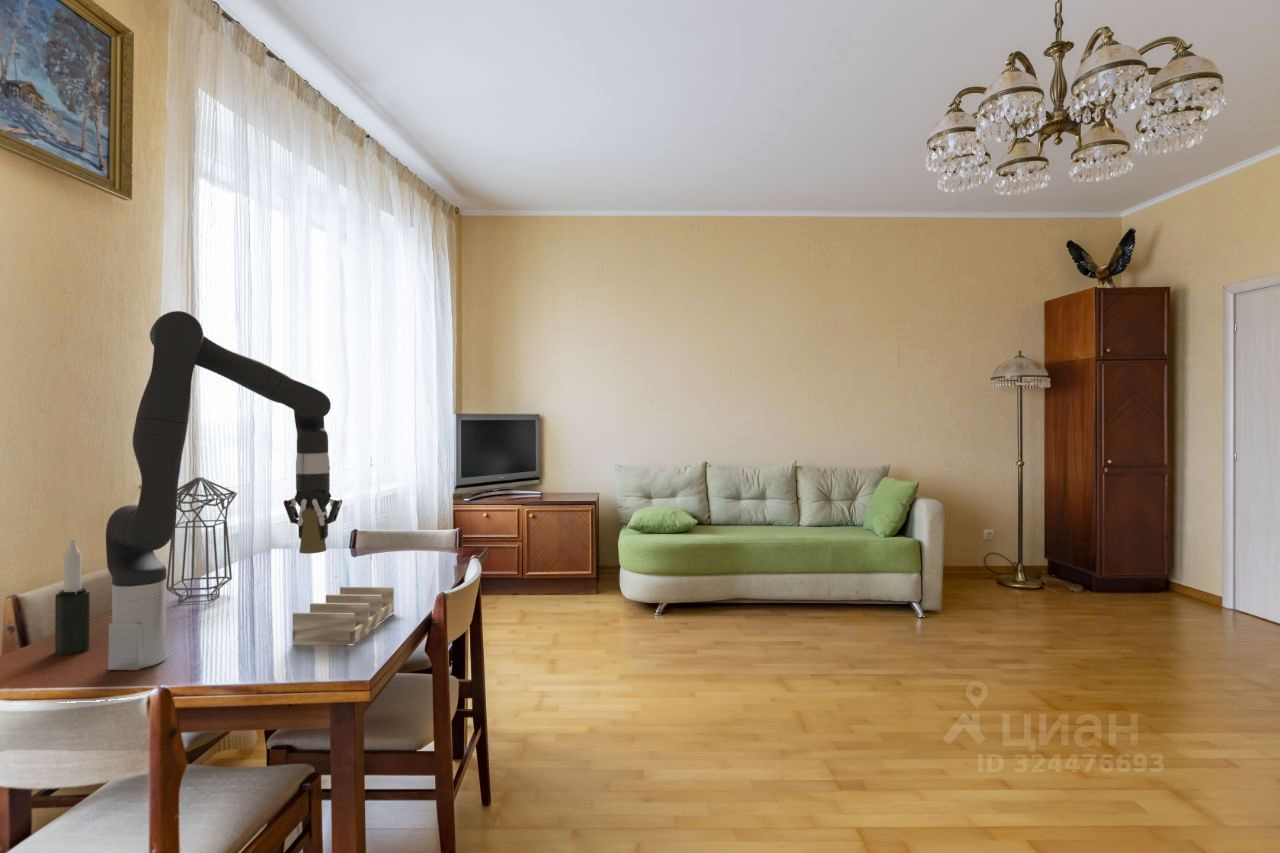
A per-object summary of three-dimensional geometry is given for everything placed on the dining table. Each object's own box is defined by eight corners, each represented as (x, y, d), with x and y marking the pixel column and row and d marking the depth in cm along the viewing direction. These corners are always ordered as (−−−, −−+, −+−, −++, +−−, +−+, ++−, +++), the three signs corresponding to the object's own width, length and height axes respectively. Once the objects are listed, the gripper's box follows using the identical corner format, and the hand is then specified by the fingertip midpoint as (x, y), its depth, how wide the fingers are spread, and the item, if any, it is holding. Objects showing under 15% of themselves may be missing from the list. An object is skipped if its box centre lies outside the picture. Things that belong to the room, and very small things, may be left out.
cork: (316, 553, 165) (315, 508, 164) (293, 553, 166) (293, 508, 165) (331, 549, 170) (331, 505, 170) (310, 548, 172) (309, 504, 171)
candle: (62, 656, 146) (62, 541, 146) (53, 652, 149) (53, 538, 149) (91, 649, 151) (91, 537, 150) (81, 645, 153) (82, 535, 153)
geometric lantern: (239, 591, 202) (239, 474, 202) (218, 606, 187) (219, 479, 187) (180, 594, 199) (180, 475, 199) (154, 608, 183) (154, 479, 183)
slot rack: (353, 645, 155) (353, 614, 155) (292, 644, 155) (292, 613, 155) (393, 614, 181) (393, 587, 181) (341, 613, 181) (341, 586, 181)
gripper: (276, 472, 164) (276, 543, 164) (335, 472, 164) (336, 543, 164) (291, 469, 171) (291, 537, 172) (347, 469, 171) (348, 537, 172)
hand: (313, 539), depth 168 cm, fingers closed on cork, 4 cm apart
